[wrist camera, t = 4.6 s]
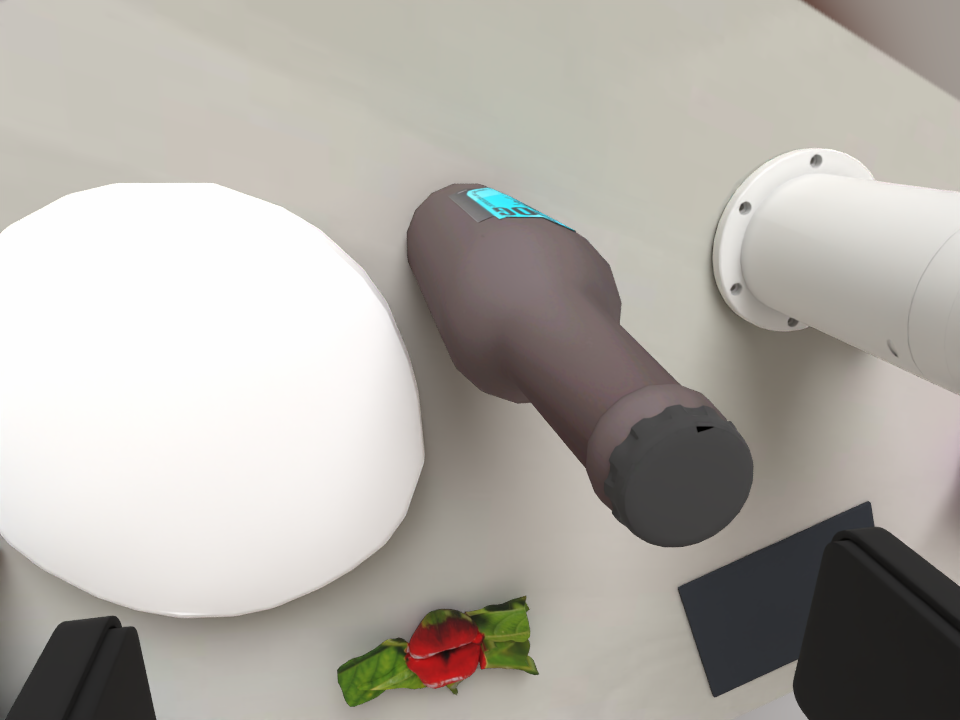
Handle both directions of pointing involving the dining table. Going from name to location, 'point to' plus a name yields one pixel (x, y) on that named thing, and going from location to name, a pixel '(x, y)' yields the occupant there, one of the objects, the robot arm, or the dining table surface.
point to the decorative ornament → (442, 652)
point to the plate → (197, 400)
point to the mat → (760, 604)
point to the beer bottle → (575, 361)
